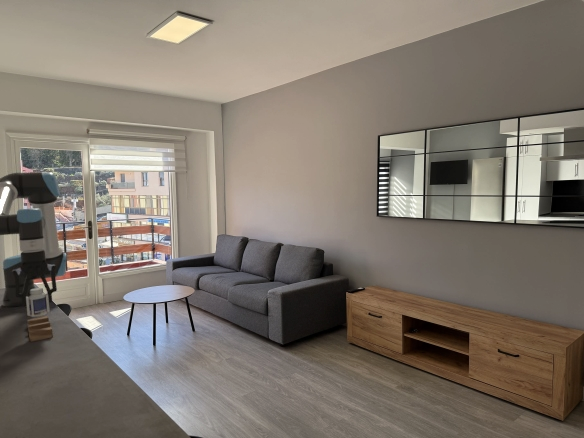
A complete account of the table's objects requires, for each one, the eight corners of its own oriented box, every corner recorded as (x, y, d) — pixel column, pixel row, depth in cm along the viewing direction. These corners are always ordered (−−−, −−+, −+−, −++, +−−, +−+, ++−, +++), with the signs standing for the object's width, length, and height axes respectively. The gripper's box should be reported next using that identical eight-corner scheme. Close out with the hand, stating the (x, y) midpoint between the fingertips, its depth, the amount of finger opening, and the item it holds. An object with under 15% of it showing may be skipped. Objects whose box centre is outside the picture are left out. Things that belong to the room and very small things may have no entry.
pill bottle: (50, 312, 152) (48, 287, 151) (40, 317, 147) (37, 290, 146) (37, 312, 152) (34, 287, 152) (26, 317, 147) (24, 291, 146)
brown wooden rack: (28, 327, 160) (27, 319, 160) (48, 323, 164) (47, 315, 164) (30, 341, 143) (29, 333, 143) (52, 337, 147) (52, 329, 147)
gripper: (1, 255, 140) (8, 321, 141) (62, 248, 150) (68, 310, 152) (2, 252, 146) (8, 316, 147) (60, 246, 156) (65, 305, 158)
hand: (38, 312), depth 150 cm, fingers closed on pill bottle, 5 cm apart
